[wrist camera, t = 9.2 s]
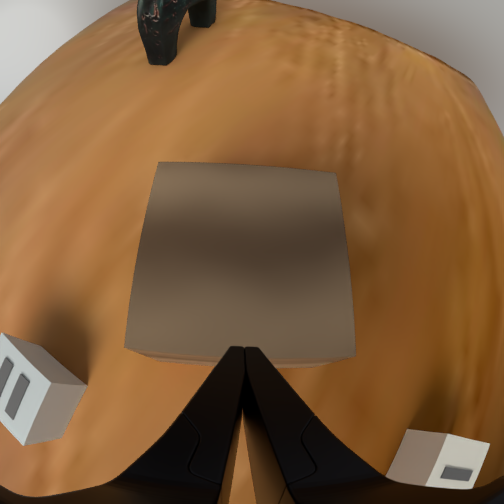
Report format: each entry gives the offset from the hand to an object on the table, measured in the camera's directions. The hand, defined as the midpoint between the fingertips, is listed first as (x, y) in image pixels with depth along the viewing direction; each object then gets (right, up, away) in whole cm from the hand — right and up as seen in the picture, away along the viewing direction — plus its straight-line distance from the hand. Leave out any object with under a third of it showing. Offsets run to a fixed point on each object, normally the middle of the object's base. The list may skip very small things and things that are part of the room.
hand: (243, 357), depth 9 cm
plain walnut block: (-1, 0, +12) cm, 12 cm away
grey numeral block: (-14, -7, +7) cm, 17 cm away
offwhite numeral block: (+13, -13, +7) cm, 19 cm away
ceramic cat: (-9, +35, +28) cm, 46 cm away
